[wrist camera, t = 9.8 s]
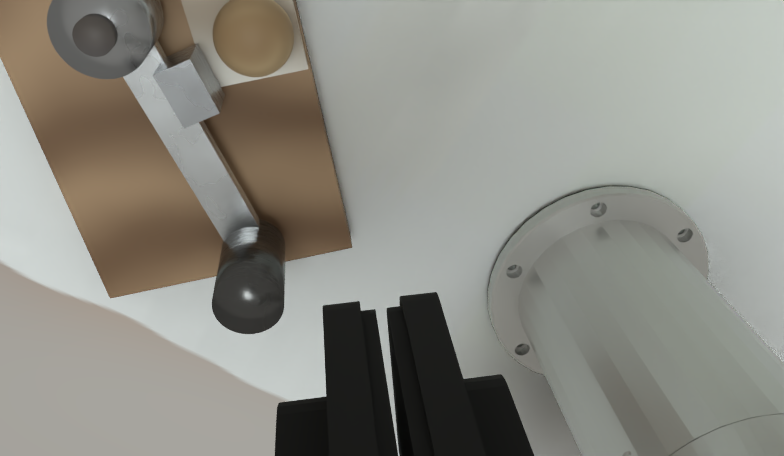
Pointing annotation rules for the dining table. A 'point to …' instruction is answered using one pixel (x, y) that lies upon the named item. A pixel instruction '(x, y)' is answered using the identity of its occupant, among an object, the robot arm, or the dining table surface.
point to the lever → (187, 148)
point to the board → (151, 157)
